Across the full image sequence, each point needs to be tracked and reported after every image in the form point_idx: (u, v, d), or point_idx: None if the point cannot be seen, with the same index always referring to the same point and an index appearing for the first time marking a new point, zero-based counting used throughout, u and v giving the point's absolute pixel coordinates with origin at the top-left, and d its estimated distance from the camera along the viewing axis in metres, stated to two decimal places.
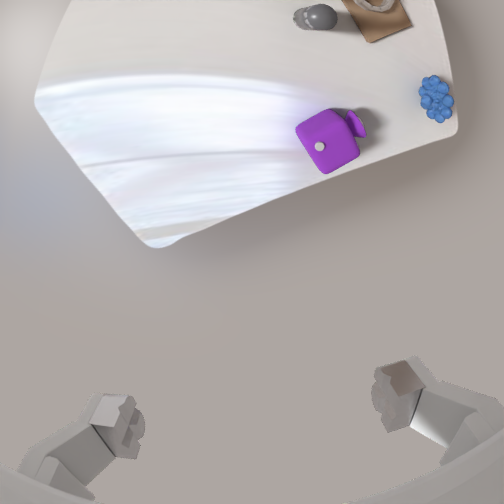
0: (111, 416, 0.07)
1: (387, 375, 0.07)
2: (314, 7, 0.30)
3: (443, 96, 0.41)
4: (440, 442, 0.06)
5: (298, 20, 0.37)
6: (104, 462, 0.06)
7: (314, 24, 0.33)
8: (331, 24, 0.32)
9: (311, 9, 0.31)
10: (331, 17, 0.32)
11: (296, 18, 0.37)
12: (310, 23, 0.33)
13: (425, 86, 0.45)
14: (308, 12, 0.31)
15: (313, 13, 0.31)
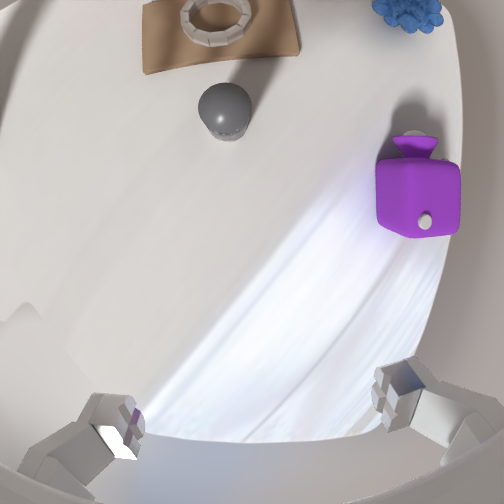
0: (111, 416, 0.07)
1: (387, 375, 0.07)
2: (201, 112, 0.23)
3: None
4: (440, 442, 0.06)
5: (223, 138, 0.30)
6: (104, 462, 0.06)
7: (232, 126, 0.24)
8: (243, 99, 0.23)
9: (203, 119, 0.24)
10: (230, 93, 0.23)
11: (219, 138, 0.31)
12: (229, 131, 0.25)
13: (386, 12, 0.25)
14: (207, 125, 0.24)
15: (211, 119, 0.24)
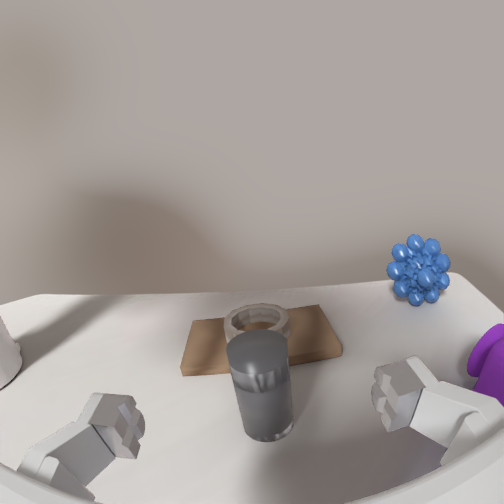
0: (111, 416, 0.07)
1: (387, 375, 0.07)
2: (229, 350, 0.21)
3: (412, 250, 0.38)
4: (440, 442, 0.06)
5: (258, 421, 0.21)
6: (104, 462, 0.06)
7: (265, 360, 0.20)
8: (278, 339, 0.22)
9: (230, 356, 0.21)
10: (264, 336, 0.23)
11: (255, 427, 0.22)
12: (261, 370, 0.19)
13: (406, 287, 0.39)
14: (234, 364, 0.20)
15: (240, 355, 0.20)
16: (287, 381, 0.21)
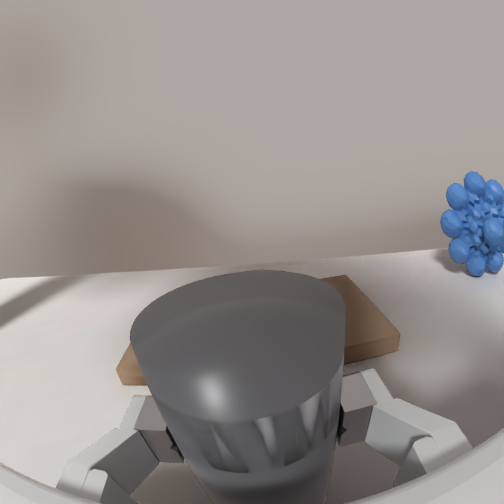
0: (160, 419, 0.07)
1: None
2: (141, 324, 0.06)
3: (472, 193, 0.22)
4: (396, 461, 0.06)
5: None
6: (148, 468, 0.06)
7: (265, 364, 0.04)
8: (309, 290, 0.07)
9: (138, 341, 0.05)
10: (261, 285, 0.07)
11: None
12: (248, 407, 0.04)
13: (467, 248, 0.24)
14: (147, 374, 0.05)
15: (169, 342, 0.05)
16: (335, 426, 0.06)
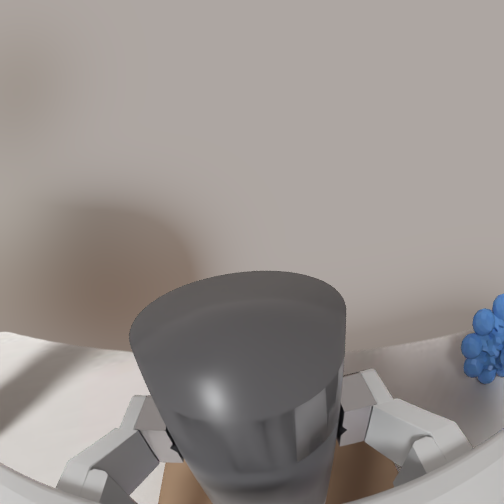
0: (159, 419, 0.07)
1: None
2: (141, 325, 0.06)
3: (499, 318, 0.20)
4: (396, 461, 0.06)
5: None
6: (148, 468, 0.06)
7: (265, 365, 0.04)
8: (309, 290, 0.07)
9: (137, 342, 0.05)
10: (261, 285, 0.07)
11: None
12: (248, 408, 0.04)
13: (482, 366, 0.21)
14: (146, 375, 0.05)
15: (169, 342, 0.05)
16: (336, 427, 0.06)
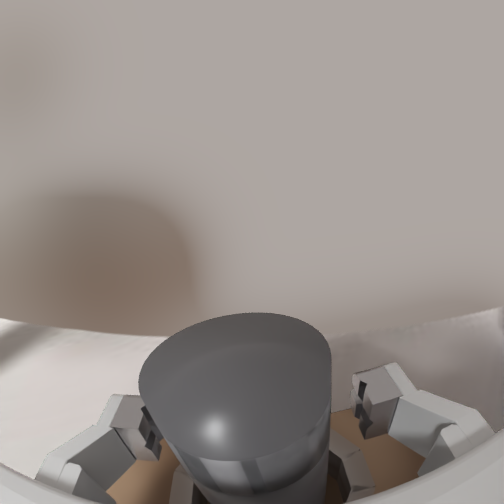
0: (134, 418, 0.07)
1: (363, 382, 0.07)
2: (148, 374, 0.06)
3: None
4: (419, 452, 0.06)
5: None
6: (125, 465, 0.06)
7: (256, 419, 0.05)
8: (300, 338, 0.07)
9: (146, 392, 0.06)
10: (256, 330, 0.08)
11: None
12: (243, 451, 0.05)
13: None
14: (156, 421, 0.05)
15: (174, 394, 0.06)
16: (325, 453, 0.06)
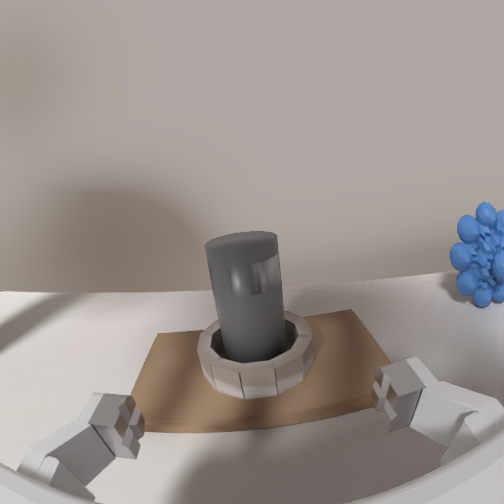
0: (111, 416, 0.07)
1: (387, 375, 0.07)
2: (208, 245, 0.19)
3: (484, 225, 0.21)
4: (440, 442, 0.06)
5: (244, 345, 0.19)
6: (104, 462, 0.06)
7: (249, 246, 0.17)
8: (266, 235, 0.20)
9: (209, 248, 0.18)
10: (250, 234, 0.20)
11: (239, 355, 0.19)
12: (244, 259, 0.17)
13: (475, 281, 0.23)
14: (213, 256, 0.18)
15: (220, 246, 0.18)
16: (278, 287, 0.19)
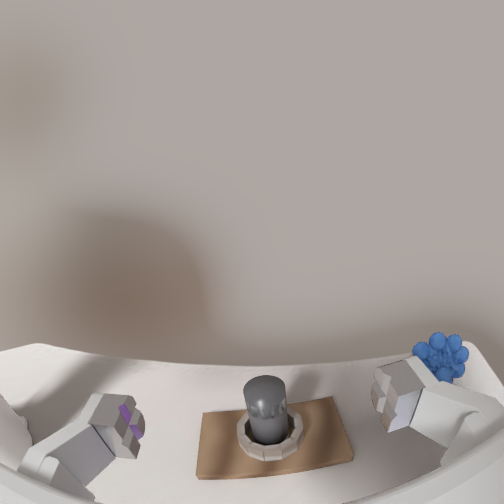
0: (111, 416, 0.07)
1: (387, 375, 0.07)
2: (245, 392, 0.30)
3: (433, 349, 0.32)
4: (440, 442, 0.06)
5: (265, 436, 0.30)
6: (104, 462, 0.06)
7: (270, 400, 0.28)
8: (279, 383, 0.31)
9: (246, 396, 0.29)
10: (269, 381, 0.31)
11: (262, 440, 0.30)
12: (267, 406, 0.28)
13: None
14: (249, 401, 0.29)
15: (253, 396, 0.29)
16: (284, 410, 0.30)
